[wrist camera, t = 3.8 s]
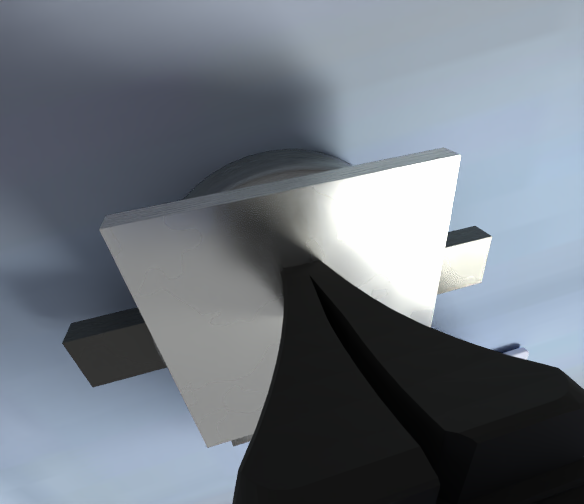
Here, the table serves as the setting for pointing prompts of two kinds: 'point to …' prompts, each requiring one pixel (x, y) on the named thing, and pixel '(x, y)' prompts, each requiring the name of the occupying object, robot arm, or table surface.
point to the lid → (276, 269)
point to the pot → (243, 173)
